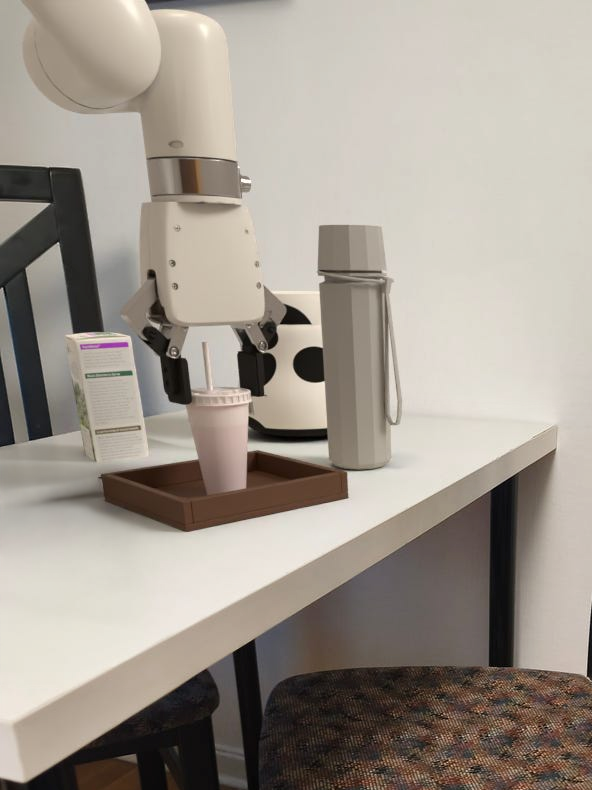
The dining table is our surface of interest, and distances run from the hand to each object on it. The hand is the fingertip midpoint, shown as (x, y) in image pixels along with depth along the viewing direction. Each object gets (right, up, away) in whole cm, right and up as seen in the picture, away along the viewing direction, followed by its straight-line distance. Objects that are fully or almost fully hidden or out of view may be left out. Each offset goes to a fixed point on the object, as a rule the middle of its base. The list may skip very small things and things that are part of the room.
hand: (217, 397), depth 83 cm
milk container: (+1, +6, +39) cm, 39 cm away
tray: (0, -9, +4) cm, 10 cm away
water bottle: (+12, -3, +19) cm, 22 cm away
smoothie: (0, -9, +4) cm, 9 cm away
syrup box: (-15, -5, +15) cm, 21 cm away
